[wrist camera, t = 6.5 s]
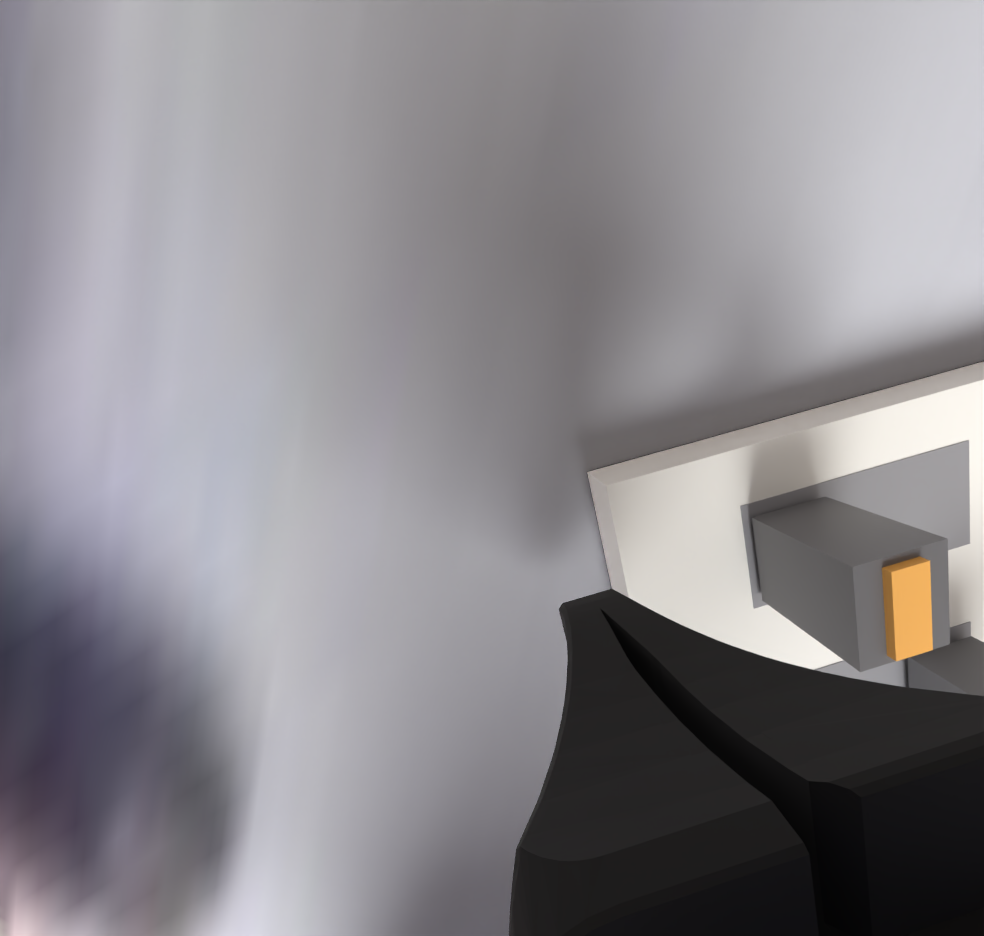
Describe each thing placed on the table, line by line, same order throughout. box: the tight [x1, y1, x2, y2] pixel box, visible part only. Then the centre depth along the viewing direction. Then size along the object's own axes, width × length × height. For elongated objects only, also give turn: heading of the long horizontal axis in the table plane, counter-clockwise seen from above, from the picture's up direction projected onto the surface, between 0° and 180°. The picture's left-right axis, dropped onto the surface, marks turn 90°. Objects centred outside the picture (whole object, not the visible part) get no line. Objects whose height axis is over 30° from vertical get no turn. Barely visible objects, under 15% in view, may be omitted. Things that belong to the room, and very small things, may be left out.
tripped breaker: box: [752, 497, 950, 672], centre depth 11 cm, size 2×2×3 cm
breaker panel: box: [587, 361, 984, 696], centre depth 13 cm, size 13×17×5 cm
